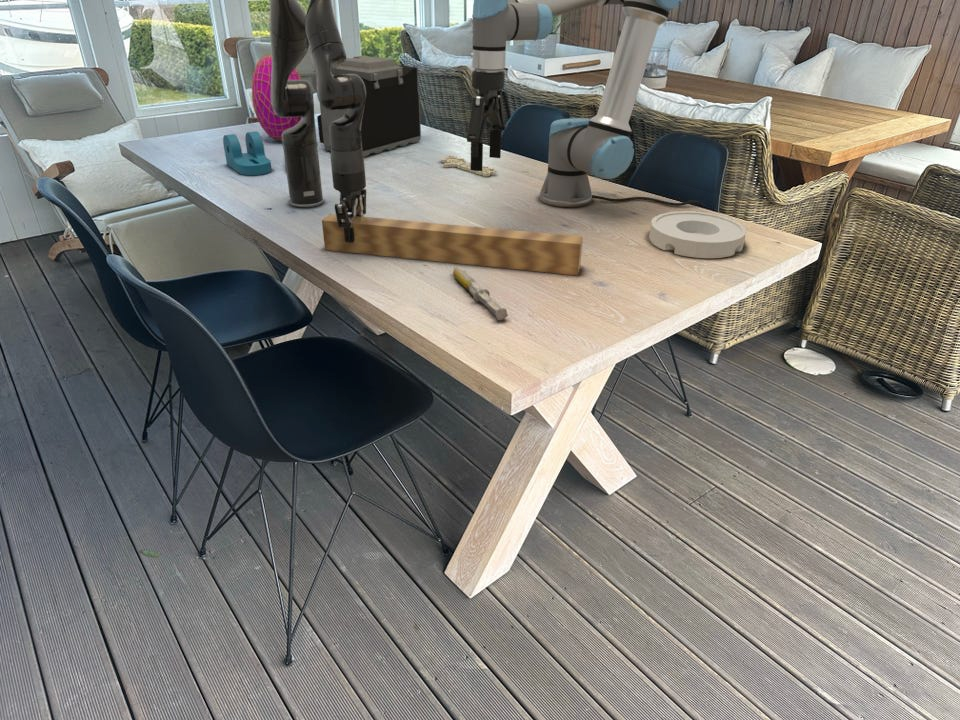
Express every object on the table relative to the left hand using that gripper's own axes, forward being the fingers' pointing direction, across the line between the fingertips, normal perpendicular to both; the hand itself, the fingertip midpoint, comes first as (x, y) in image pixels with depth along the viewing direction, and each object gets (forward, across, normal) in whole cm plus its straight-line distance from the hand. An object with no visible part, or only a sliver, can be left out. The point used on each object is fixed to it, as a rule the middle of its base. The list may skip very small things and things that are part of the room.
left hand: (354, 237), depth 166 cm
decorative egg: (+3, -99, -70) cm, 121 cm away
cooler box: (+3, -100, -34) cm, 105 cm away
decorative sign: (+3, -79, +8) cm, 80 cm away
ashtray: (+3, -27, +82) cm, 86 cm away
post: (+3, 0, +24) cm, 24 cm away
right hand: (-16, -17, +29) cm, 37 cm away
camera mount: (+3, -59, -61) cm, 85 cm away
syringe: (+3, +19, +36) cm, 41 cm away
